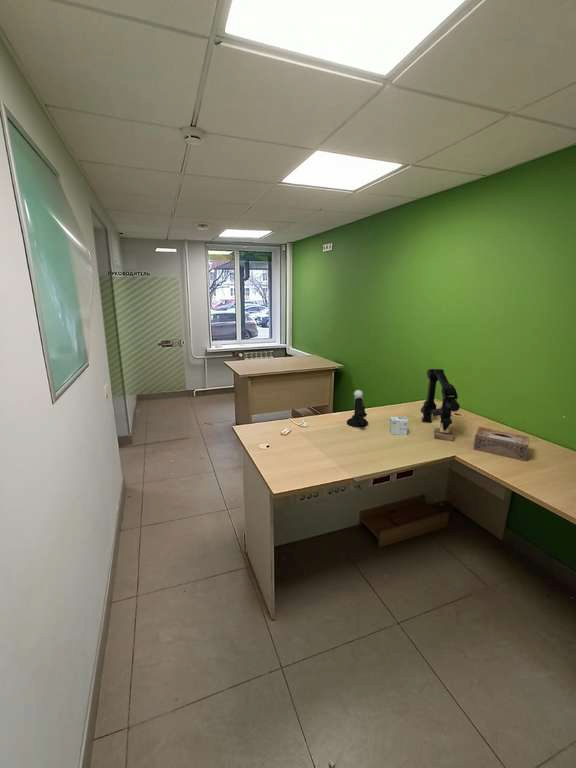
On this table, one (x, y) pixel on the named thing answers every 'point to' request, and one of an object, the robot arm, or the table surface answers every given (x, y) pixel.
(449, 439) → the pedestal
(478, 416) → the table surface
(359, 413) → the sculpture
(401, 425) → the light bulb box
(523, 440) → the tissue box cover
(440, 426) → the beige cube
